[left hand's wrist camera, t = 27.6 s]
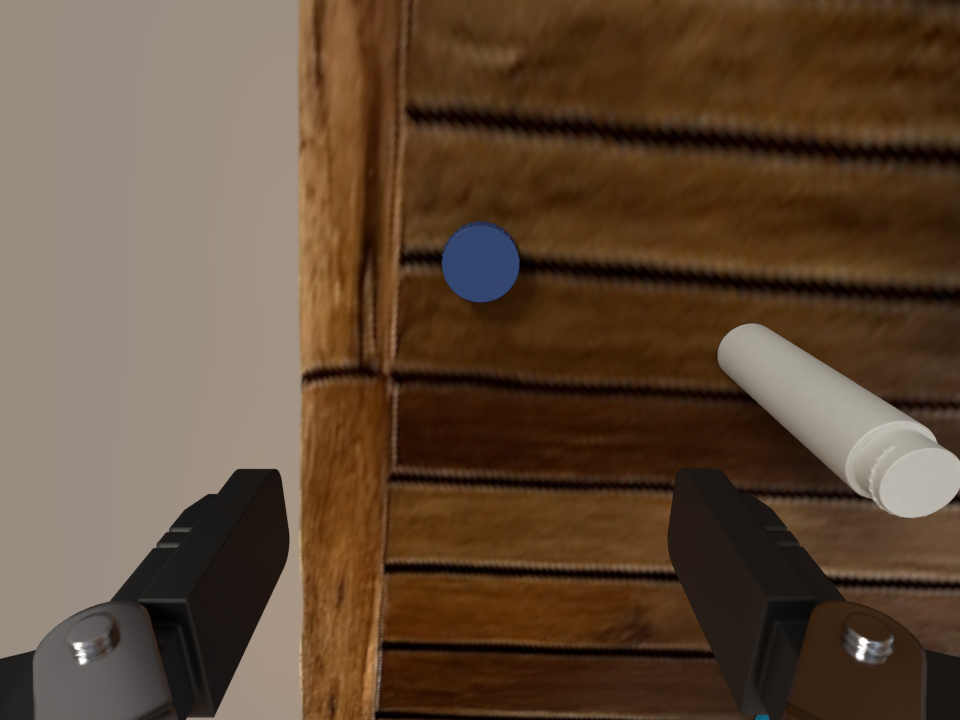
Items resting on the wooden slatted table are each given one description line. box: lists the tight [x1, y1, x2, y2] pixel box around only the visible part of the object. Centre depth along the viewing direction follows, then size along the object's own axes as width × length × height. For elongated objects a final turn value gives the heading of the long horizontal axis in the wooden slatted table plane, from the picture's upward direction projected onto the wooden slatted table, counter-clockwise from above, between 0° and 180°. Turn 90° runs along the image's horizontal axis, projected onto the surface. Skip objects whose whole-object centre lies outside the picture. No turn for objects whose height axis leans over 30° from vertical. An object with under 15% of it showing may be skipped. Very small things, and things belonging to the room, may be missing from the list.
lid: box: [441, 221, 520, 302], centre depth 36 cm, size 5×5×2 cm
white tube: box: [718, 324, 960, 518], centre depth 32 cm, size 4×4×17 cm
